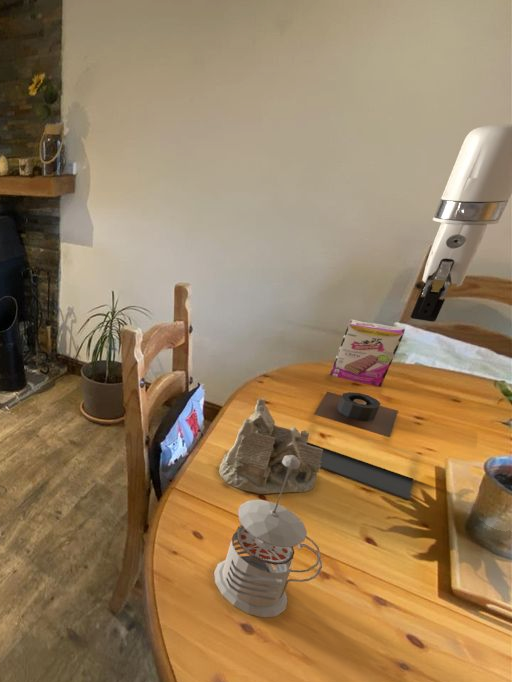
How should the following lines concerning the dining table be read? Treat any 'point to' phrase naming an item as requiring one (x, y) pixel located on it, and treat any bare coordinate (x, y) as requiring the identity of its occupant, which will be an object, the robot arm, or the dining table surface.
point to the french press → (263, 555)
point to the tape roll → (358, 406)
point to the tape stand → (378, 425)
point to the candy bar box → (367, 352)
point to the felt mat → (366, 473)
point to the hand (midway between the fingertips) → (424, 311)
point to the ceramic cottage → (269, 456)
